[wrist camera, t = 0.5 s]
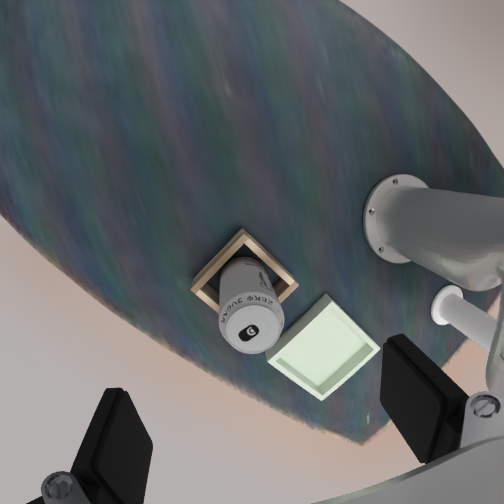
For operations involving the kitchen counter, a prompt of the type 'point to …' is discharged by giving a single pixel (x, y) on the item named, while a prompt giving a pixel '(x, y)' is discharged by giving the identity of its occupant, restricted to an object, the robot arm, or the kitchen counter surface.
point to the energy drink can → (248, 307)
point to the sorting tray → (322, 348)
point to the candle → (463, 316)
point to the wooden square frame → (199, 282)
